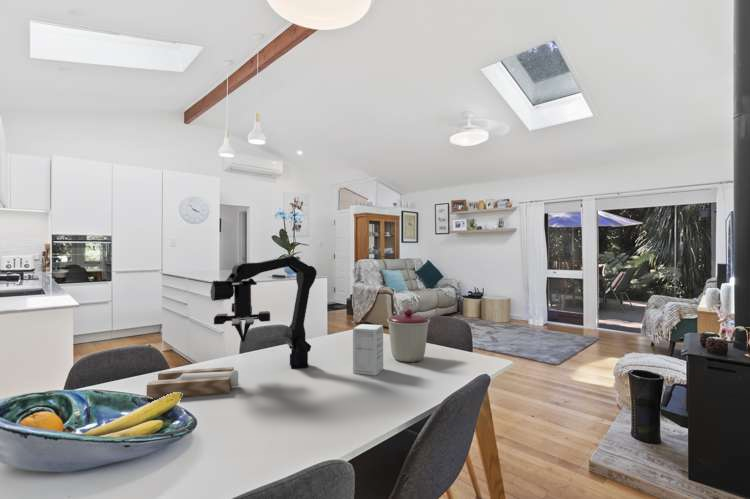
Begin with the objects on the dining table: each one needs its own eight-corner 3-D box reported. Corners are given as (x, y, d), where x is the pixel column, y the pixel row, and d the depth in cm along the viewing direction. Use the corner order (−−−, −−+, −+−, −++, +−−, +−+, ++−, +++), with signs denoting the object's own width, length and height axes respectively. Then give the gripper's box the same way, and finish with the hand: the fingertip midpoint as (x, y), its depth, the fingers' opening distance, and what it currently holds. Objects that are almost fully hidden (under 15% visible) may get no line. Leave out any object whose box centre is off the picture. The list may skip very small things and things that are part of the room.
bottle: (236, 374, 119) (149, 380, 113) (236, 389, 120) (150, 396, 114) (238, 367, 124) (155, 372, 118) (238, 381, 125) (156, 387, 119)
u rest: (233, 379, 129) (233, 367, 129) (228, 393, 117) (228, 379, 117) (160, 385, 124) (160, 371, 124) (146, 400, 111) (146, 385, 111)
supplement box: (383, 368, 144) (384, 324, 144) (376, 376, 135) (377, 329, 135) (360, 366, 146) (360, 323, 147) (352, 373, 138) (352, 327, 138)
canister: (377, 358, 157) (378, 308, 157) (405, 351, 170) (406, 304, 170) (410, 368, 144) (411, 313, 145) (438, 359, 157) (438, 309, 157)
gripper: (270, 294, 143) (270, 334, 143) (217, 296, 138) (218, 338, 138) (269, 297, 133) (270, 341, 133) (213, 300, 128) (214, 346, 128)
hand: (243, 341), depth 133 cm, fingers closed
